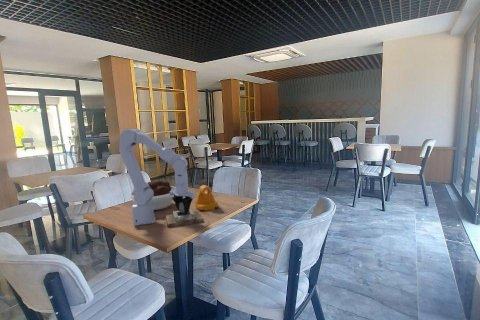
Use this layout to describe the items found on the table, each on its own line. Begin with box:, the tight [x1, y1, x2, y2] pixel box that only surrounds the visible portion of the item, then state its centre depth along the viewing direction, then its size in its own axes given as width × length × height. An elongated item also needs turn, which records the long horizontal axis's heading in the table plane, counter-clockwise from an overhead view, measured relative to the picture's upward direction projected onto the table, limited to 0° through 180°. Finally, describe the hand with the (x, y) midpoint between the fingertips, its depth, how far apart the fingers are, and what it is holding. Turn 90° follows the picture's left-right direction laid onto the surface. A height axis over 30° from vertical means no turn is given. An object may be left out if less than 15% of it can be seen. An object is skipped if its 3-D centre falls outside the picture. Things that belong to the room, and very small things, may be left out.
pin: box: [178, 201, 188, 216], centre depth 123 cm, size 4×4×7 cm
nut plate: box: [165, 208, 204, 228], centre depth 123 cm, size 16×12×4 cm
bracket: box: [194, 184, 219, 211], centre depth 139 cm, size 11×7×12 cm, turn 119°
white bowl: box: [129, 180, 176, 211], centre depth 143 cm, size 25×25×15 cm
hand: (183, 211), depth 123 cm, fingers closed on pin, 4 cm apart
